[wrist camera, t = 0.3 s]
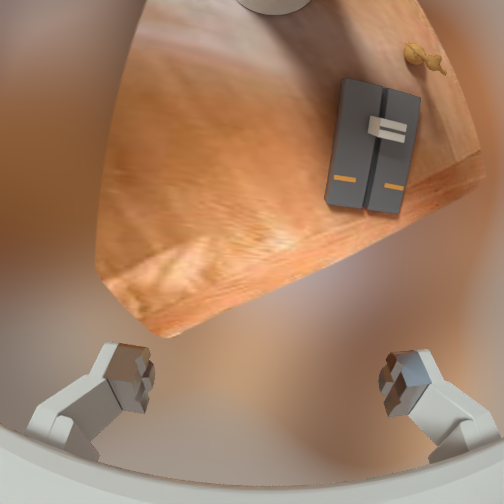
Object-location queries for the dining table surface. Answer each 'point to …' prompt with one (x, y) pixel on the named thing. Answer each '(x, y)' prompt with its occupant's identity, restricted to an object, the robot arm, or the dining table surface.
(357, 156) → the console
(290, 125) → the dining table surface
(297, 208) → the dining table surface
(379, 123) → the fader tab
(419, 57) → the figurine
